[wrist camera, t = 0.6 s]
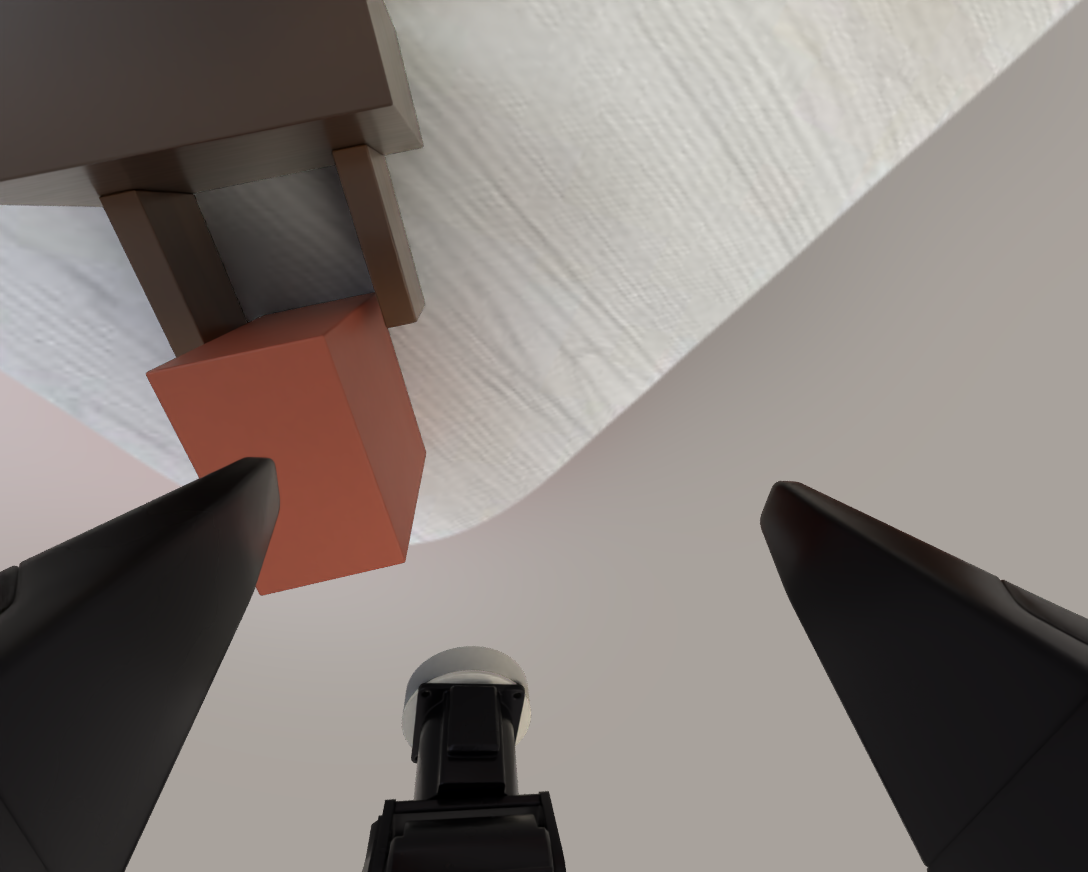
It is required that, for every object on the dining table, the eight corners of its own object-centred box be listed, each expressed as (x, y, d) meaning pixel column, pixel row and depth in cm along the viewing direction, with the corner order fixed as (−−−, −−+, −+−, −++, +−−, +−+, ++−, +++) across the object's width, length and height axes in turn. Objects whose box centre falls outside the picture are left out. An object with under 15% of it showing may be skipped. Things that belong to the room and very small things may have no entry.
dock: (461, 297, 23) (455, 343, 15) (191, 354, 23) (35, 433, 15) (394, 26, 19) (337, -111, 11) (65, 88, 19) (-245, -8, 11)
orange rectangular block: (426, 453, 26) (405, 563, 18) (326, 475, 26) (259, 597, 18) (376, 291, 23) (323, 334, 15) (262, 315, 23) (143, 372, 15)
